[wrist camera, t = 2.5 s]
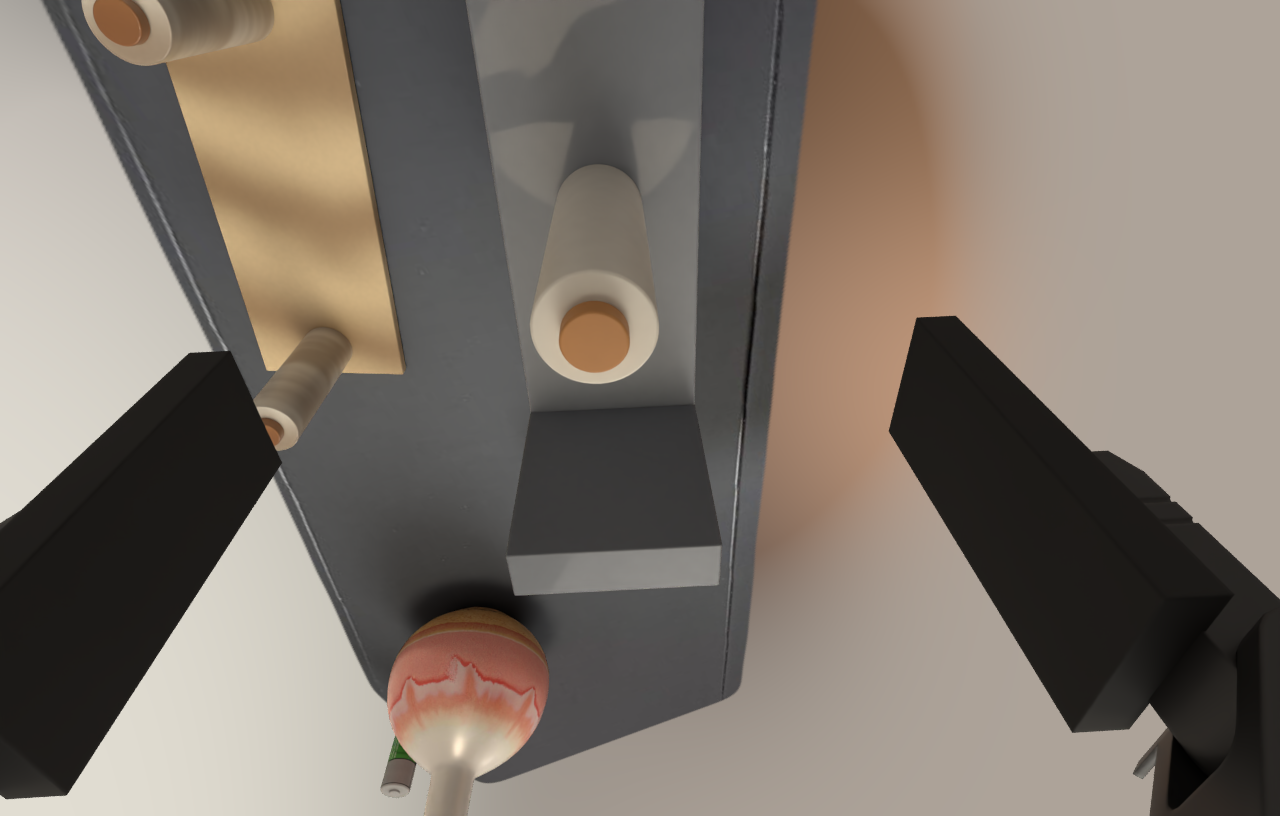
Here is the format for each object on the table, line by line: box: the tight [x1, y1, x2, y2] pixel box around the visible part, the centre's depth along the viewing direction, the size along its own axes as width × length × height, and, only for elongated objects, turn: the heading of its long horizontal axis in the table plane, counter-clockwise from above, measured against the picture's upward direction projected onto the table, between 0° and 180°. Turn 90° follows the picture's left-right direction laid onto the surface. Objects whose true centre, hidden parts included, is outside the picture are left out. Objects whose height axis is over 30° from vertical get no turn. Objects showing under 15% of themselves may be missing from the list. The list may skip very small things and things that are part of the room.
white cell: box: [530, 164, 659, 384], centre depth 18 cm, size 3×3×10 cm
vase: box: [387, 607, 549, 816], centre depth 53 cm, size 14×14×18 cm
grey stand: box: [466, 0, 722, 596], centre depth 25 cm, size 21×7×24 cm, turn 2°
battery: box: [381, 735, 416, 798], centre depth 63 cm, size 3×3×10 cm
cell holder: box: [82, 0, 406, 450], centre depth 33 cm, size 23×9×10 cm, turn 177°
